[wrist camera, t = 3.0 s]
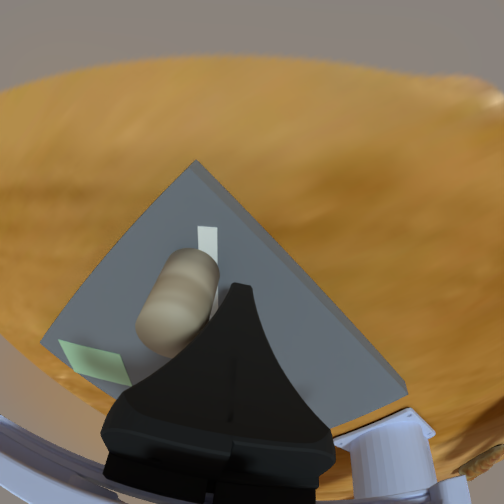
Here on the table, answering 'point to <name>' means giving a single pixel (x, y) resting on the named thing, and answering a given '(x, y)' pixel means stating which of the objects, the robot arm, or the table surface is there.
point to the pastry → (481, 463)
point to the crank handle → (179, 302)
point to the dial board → (231, 270)
